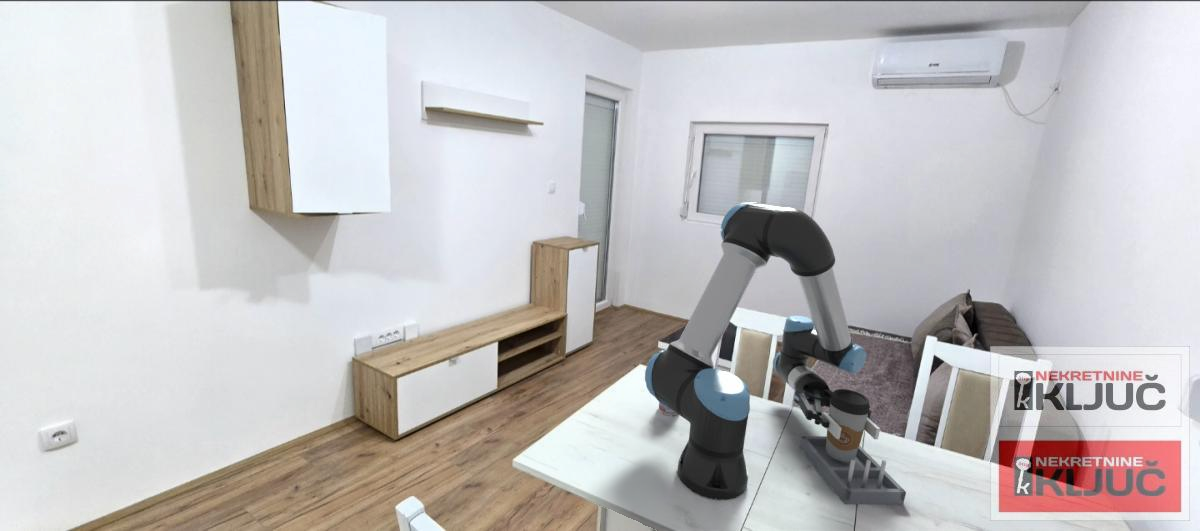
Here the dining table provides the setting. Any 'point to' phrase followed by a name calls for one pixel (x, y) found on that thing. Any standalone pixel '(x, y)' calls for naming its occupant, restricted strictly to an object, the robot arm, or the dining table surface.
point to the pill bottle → (666, 409)
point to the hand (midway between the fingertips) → (858, 433)
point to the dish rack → (853, 475)
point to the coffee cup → (847, 423)
